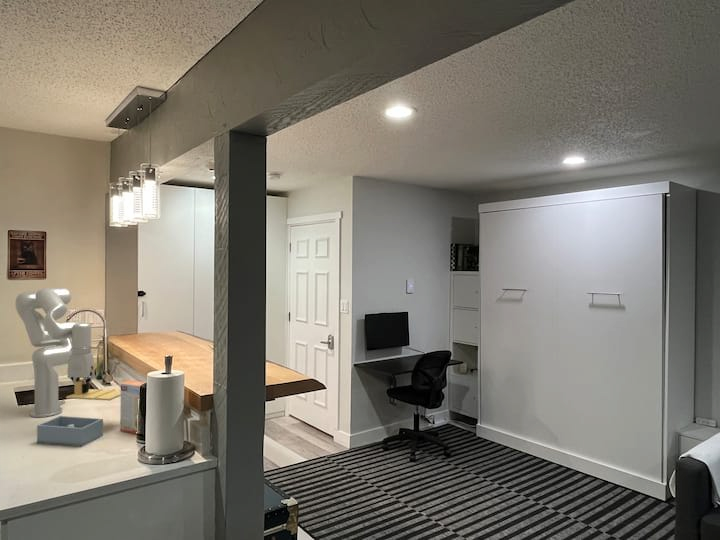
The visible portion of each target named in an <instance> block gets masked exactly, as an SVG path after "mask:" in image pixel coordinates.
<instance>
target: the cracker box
mask: <svg viewBox="0 0 720 540" xmlns="http://www.w3.org/2000/svg"><path fill="white" fill-rule="evenodd" d="M144 383H145V382H144V381H143V382H142V381H137V380H136V381H135V380H128V381H124V382H121V383H120V391H121V396H120V405H119V406H120V411H119V413H120V415H119V417H120V418H119V419H120V421H119V423H120V425H119V429H120V430H119V431H120V432H124V433H125V432H126V433H130V434H134V435H137V434H136V432H137V415H138V399H139V389H140V386H141V385H142V384H144Z"/></svg>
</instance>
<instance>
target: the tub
mask: <svg viewBox="0 0 720 540" xmlns="http://www.w3.org/2000/svg"><path fill="white" fill-rule="evenodd" d="M103 435H104V419H103V418H96V417H95V418H92V417H79V416H66V415H65V416H63V415H58V416H57V417H54V418H52V419H49V420H48V421H45V422H42V423H40V424H37V426H36V443H38V444H45V443H49V444H48V445H58V444H62V446H71V445H79V446H78V447H84V446H86V445H88V444H89V442H90V443H92V442H94V441H95V440H97V439H100V438H101V437H103ZM91 441H92V442H91ZM87 443H88V444H87ZM85 444H86V445H85ZM83 445H84V446H83Z"/></svg>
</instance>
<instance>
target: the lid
mask: <svg viewBox="0 0 720 540" xmlns="http://www.w3.org/2000/svg"><path fill="white" fill-rule="evenodd" d="M86 380H87V378H86ZM82 384H83V378H80V380H78V381H75V382H74V393H72V394H70V395H67V396H66V397H65V399H69V400H70V399H71V400H72V399H75V400H87V401H88V400H89V401H90V400H91V401H92V400H93V401H108V402H109V401H112V400H114V399H117V398H120V397H121V390H116V389H103V388H100V389H92V388H89V390H88V392H86V393H82Z"/></svg>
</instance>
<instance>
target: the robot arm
mask: <svg viewBox="0 0 720 540" xmlns="http://www.w3.org/2000/svg"><path fill="white" fill-rule="evenodd" d="M71 299H72V295H71V292H70V290H69V289H68V288H66V287H45V288H44V287H43V288H41V289H39V290H37V291H35V290H34V291H26V292H22V293H19V294H18V295H17V296H16V298H15V309H16V313H17V315H18V316H19V318H20V319H21V320H22V321H23V322H22V323H23V324H24V326H25V329H26V332H27V336H28V339H29V341H30V344H31V345H32V346H33V347H34V348H37V349H35V350H34V352H32V354H31V361H32V365H33V373H34V410H33V411H31V412H30V416H31V417H33V418H46V417H47V416H48V417H53V416H55V415H59V414H61V413H62V412H63V408H62V407H61V406H63V405H65V404H66V400H64V399H63V400H60V401H59V373H58V372H57V371H56V370H55V369H54V367H56V366H62V365H63V366H64V365H67V378H68V379H70V380H71V382H72V383H73V384H74V382H75V381H78V380H81V379H83V384H82V393H86V392H88V390H89V389H90V388H89V387H90V386H89V384H90V383H91V381H92V380H94V379H96V373H95V361H94V356H93V353H92V325H91V323H89V322H83V321H80V320H75V321H74V320H73V321H63V322H58V321H57V320H58V319H59V320H60V319H61V318H63V317H65V315H66V314H67V312H68V307H67V305H68V304H70V302H71ZM37 309H42V310H43V311H44V313H45V316H44V315H43V314H42V313H40V312H39V311H37ZM86 379H87V380H86ZM52 415H53V416H52Z"/></svg>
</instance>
